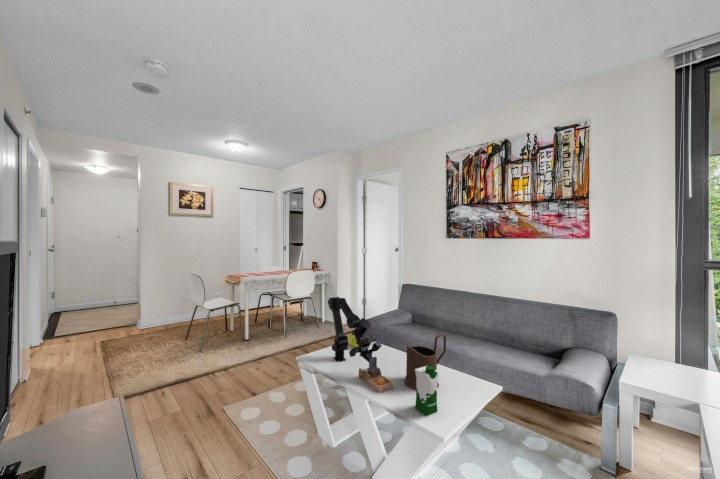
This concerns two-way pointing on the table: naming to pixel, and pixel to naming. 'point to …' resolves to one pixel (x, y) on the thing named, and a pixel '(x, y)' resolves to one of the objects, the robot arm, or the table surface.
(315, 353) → the table surface
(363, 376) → the track
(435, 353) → the brown pitcher
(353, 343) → the yellow toy chassis
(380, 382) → the ball
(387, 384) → the pink square tray
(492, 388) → the table surface
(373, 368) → the plunger
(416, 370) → the milk carton
